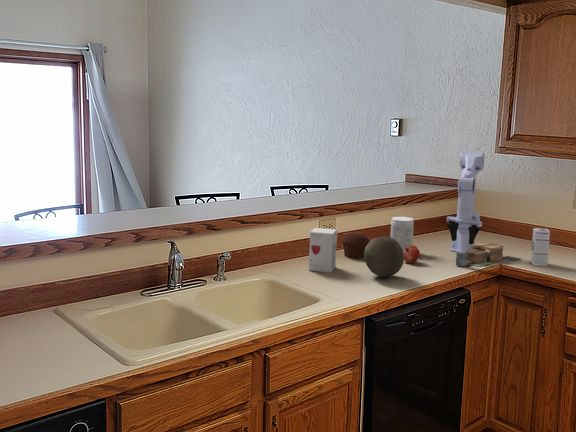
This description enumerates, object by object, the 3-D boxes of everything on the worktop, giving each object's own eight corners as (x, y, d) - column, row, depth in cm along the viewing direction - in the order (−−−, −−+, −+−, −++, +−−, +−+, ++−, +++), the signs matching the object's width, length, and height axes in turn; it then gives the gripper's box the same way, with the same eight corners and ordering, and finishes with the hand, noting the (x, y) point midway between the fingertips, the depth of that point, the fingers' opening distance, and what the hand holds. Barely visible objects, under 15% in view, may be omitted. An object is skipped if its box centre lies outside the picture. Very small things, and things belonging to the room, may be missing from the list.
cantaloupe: (369, 270, 235) (371, 231, 233) (406, 275, 230) (408, 235, 227) (358, 279, 222) (360, 238, 220) (397, 284, 217) (400, 243, 214)
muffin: (374, 256, 257) (375, 233, 256) (357, 260, 250) (358, 236, 248) (352, 251, 266) (353, 228, 264) (335, 255, 258) (336, 231, 256)
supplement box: (307, 270, 233) (309, 231, 230) (313, 265, 241) (314, 227, 239) (331, 272, 230) (333, 233, 228) (336, 267, 239) (337, 229, 236)
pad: (457, 261, 253) (457, 261, 253) (469, 258, 259) (469, 258, 259) (479, 266, 246) (479, 266, 246) (491, 263, 252) (491, 262, 252)
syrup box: (547, 266, 249) (551, 231, 246) (532, 265, 250) (535, 230, 247) (544, 263, 254) (548, 228, 252) (529, 262, 256) (532, 227, 253)
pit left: (481, 254, 267) (481, 253, 267) (488, 252, 271) (488, 251, 271) (493, 256, 263) (494, 256, 263) (500, 254, 267) (501, 254, 267)
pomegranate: (408, 265, 254) (393, 252, 250) (419, 251, 255) (404, 237, 250) (418, 271, 248) (403, 258, 243) (429, 257, 248) (414, 243, 243)
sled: (452, 264, 246) (453, 252, 245) (474, 258, 257) (475, 246, 257) (465, 267, 242) (466, 254, 242) (486, 261, 254) (487, 249, 253)
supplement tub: (393, 248, 274) (395, 215, 271) (414, 251, 270) (416, 217, 267) (386, 252, 265) (388, 218, 263) (408, 255, 261) (410, 221, 259)
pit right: (500, 258, 261) (500, 257, 261) (507, 256, 265) (507, 255, 265) (513, 261, 257) (514, 260, 257) (520, 258, 261) (520, 258, 261)
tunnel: (471, 258, 259) (472, 244, 258) (482, 255, 265) (483, 241, 264) (491, 262, 253) (492, 248, 252) (502, 259, 259) (503, 245, 258)
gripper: (443, 206, 244) (440, 240, 246) (476, 211, 233) (473, 246, 236) (453, 204, 248) (450, 238, 251) (486, 209, 238) (483, 244, 240)
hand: (462, 242), depth 244 cm, fingers open, 7 cm apart
